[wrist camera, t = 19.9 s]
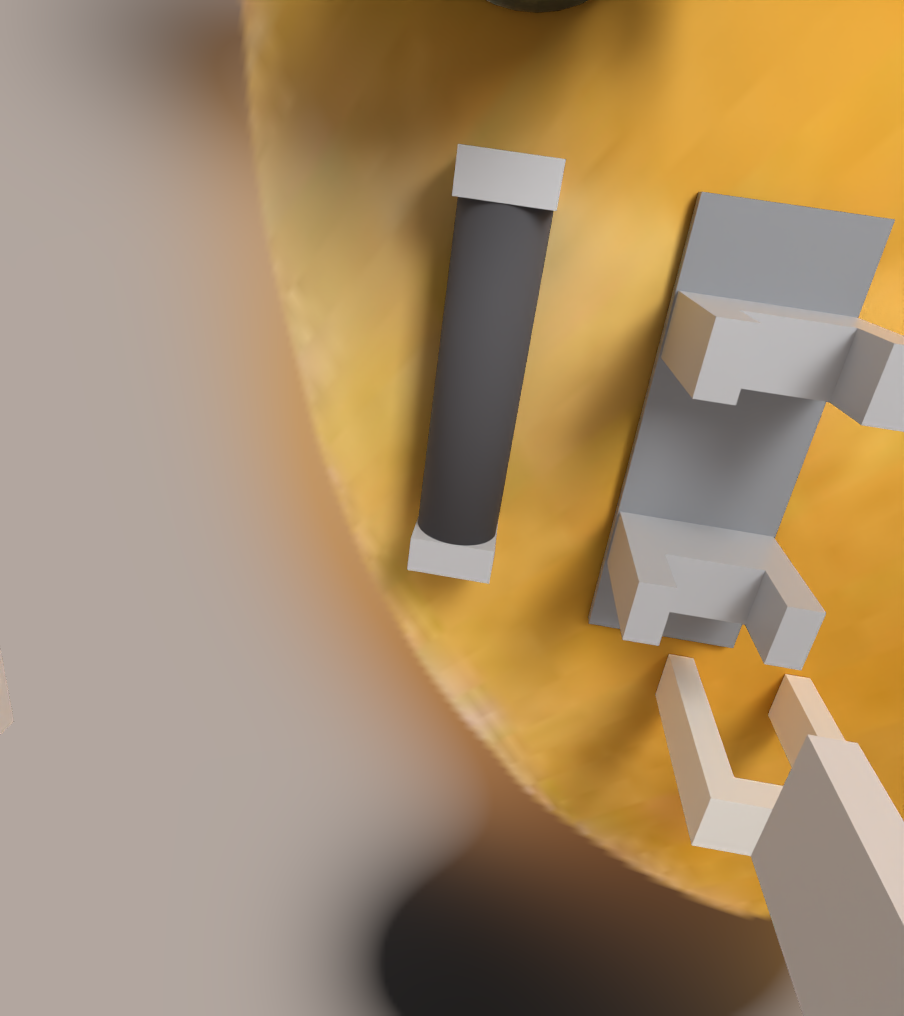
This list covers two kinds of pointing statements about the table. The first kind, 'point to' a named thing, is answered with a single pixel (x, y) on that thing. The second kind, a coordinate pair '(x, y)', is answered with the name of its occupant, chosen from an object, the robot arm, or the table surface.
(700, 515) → the cradle
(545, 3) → the mug
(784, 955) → the robot arm
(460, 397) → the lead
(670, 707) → the u-shaped clip
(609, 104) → the table surface
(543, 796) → the table surface
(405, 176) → the table surface
